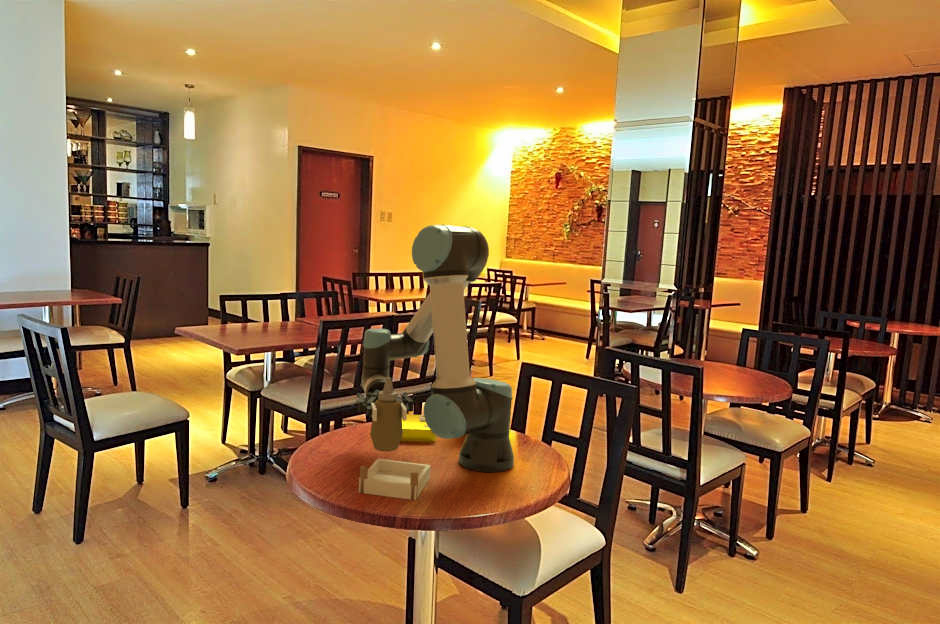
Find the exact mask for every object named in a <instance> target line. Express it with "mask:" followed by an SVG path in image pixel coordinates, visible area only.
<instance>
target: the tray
mask: <svg viewBox="0 0 940 624" xmlns="http://www.w3.org/2000/svg"><path fill="white" fill-rule="evenodd" d="M431 467H432V465H430V464H424V463H417V462H408V461H400V460H392V459H385V458H377V459H376V460H375V461H374V463H372V465H370V467H368V466H367V465H366V466H365V465H363V466H360V467H359V478H358V480H359V481H358V493H359V494H365V495H366V494H367V495H372V496H373V495H374V496H381V497H389V498H395V499H405V500H411V501H416V500H418V498H419V496H420V495H421V493H422V491H423V489H425V486H426V485H427V484H428V482H429V481H430V479H431V470H432V469H431Z"/></svg>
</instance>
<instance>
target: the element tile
mask: <svg viewBox="0 0 940 624" xmlns="http://www.w3.org/2000/svg"><path fill="white" fill-rule="evenodd" d="M402 430H403V435H402V438H401V441H400V442H406V441H408V442H409V443H410V441H411V443H412V442H413V441H414V442H415V443H417V442H418V443H434V442H437V437H438V436H437V435H435V434H434V433H433V431H432V430H430V428H429V427H428V425H427V423H426V421H425V417H424V414H407V418H406V421H403V419H402ZM414 442H413V443H414Z"/></svg>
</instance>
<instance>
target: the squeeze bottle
mask: <svg viewBox="0 0 940 624" xmlns="http://www.w3.org/2000/svg"><path fill="white" fill-rule="evenodd" d="M393 389H394V387H393V381H392V377H390V376H389V377H388V378H386V381H385V385H384V389H383V391H380V392H379V397H378V400H377V401H375V403H374V405H375V406H376V409H377V421H373V418H372V417H371V418H372V419H371V427H370V433H369V434H370V438H371V442H372V446H373V449H374V450H375V451H378V452H386V453H387V452H395V451H396V450H398V448H399V446H400V443H401V442H402V441H401V438H402V435H403V430H402V417H401V402H399V401H398V400H397V394H398V392H397V391H395V390H394V391H393Z"/></svg>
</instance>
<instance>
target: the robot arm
mask: <svg viewBox="0 0 940 624" xmlns="http://www.w3.org/2000/svg"><path fill="white" fill-rule="evenodd" d="M486 238H487V237H485V236H484V234H483V233H482V232H481V231H479V230H478V229H477V228H474V227H471V226H461V225H459V226H457V225H447V224H432V225H427V226H425V227H423V228H422V229H421V230H420V231H419V232H418V234H417V235H416V236H415V237H414V240H413V242H412V246H411V258H412V262H413V264H414V265H416V268H417V269H418V270H419V271H421V272H422V279H423V281H424V282H426V283H427V285H428V286H429V293H428V295H427V296H426V298H424V300H423V302H422V303H421V305H420V307H419V308H417V311H416V312H415V313H414V315H413V317H412V318H411V319H410V321H409V323H408V324H407V325H406V327H405V328H404V330H403V331H402V332H401V333H395V334H391V331H390V330H389V329H386V328H369V329H366V330H365V332H364V336H363V343H362V345H363V363H362V364H363V365H362V375H361V378H360V379H361V381H360V382H361V383H360V384H361V387H362V390H363V391H364V393H362V392H357V393H356V396H355V397H356V398H355V399H356V400H355V402H356V404H358V406H357V407H358V409H357V411H358V413H364V412H365V416H366V417H369V416H370V417H371V418H373V421H377V409H376V406H375V405H374V403H375V401H377V400H378V397H379V392H380V391H383V389H384V385H385V381H386V378H388V377H389V378H390V366H391V365H390V361H396V360H403V359H408V358H409V359H410V358H417V357H420V356H421V357H422V356H424V355H425V354H426V353H427V352H428V351H429V346H430V337H431V336H433V346H434V347H433V348H434V359H435V374H436V379H434V382H433V383H432V384H431V395H430V396H429V397H428V398H427V399H426V400H425V403H424V405H423V415H424V417H425V421H426V423H427V425H428V427H429V428H430V430H432V431H433V433H434V434H435V435H437V437H439V438H441V439H443V440H450V439H451V440H452V439H459V438H462V437H463V436H465V438H464V441H463V443H462V445H461V447H460V450H459V455H458V463H459V464H460V465H461V466H462V467H464V468H466V469H469V470H472V471H476V472H482V473H483V472H484V473H498V472H499V473H500V472H505V471H508V470H510V469H511V468H513V466H514V463H515V462H514V461H515V457H514V456H515V455H514V451H513V447H512V444H511V440H510V427H511V414H512V412H511V411H512V403H513V401H512V400H513V388H512V386H511V384H509V383H507V382H504V381H501V380H498V379H497V380H496V379H492V378H491V379H490V378H481V377H473V378H472V377H471V374H470V362H469V361H470V360H469V346H468V345H469V344H468V335H467V334H468V332H467V319H466V307H465V293H464V292H465V289H467V287H468V286H469V284H471V283H474V282H476V280H477V279H478V278H479V277H480V276H481V274H482V273H483V271H484V269H485V267H486V266H487V264H488V263H487V262H488V260H489V256H490V250H489V249H490V246H489V243H488V241H487V239H486ZM432 334H433V335H432ZM393 391H395V389H394V388H393ZM408 394H409V393H408V392H402V393H400V394H398V393H397V400H398V401H399V402H401V417H402V419H403V421H406V418H407V415H410V414H409V413H410V412H411V413H412V412H413V411H414V403H415V402H414V400H413V399H412V398H411V397H410V396H409V395H408ZM365 401H366V402H365ZM466 434H467V435H466Z"/></svg>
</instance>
